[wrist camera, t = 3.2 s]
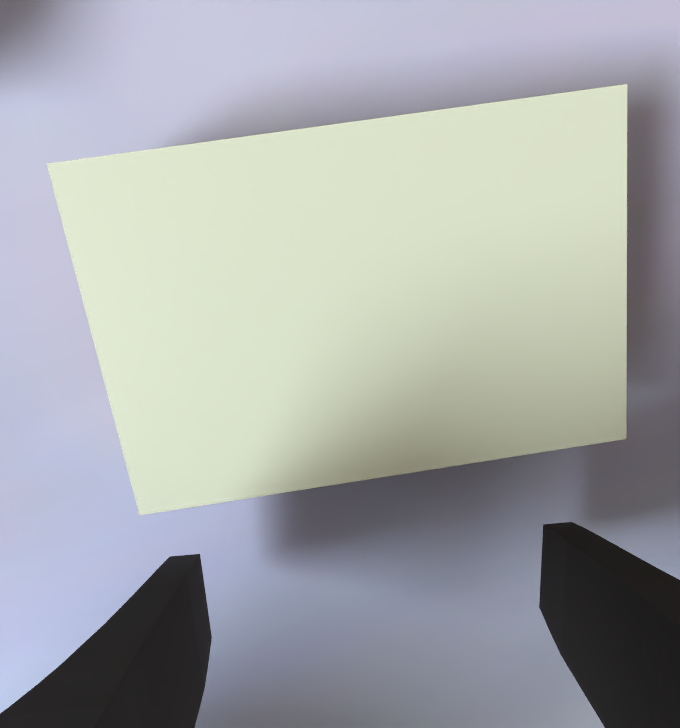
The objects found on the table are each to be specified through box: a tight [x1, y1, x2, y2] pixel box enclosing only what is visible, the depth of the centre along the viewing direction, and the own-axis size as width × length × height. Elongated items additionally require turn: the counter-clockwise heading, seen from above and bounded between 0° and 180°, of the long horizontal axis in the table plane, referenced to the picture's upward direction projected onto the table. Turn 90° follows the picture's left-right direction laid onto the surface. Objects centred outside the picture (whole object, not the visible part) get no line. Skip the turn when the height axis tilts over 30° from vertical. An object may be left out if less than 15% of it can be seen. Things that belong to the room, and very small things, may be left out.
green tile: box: [47, 84, 627, 515], centre depth 10 cm, size 6×9×3 cm, turn 98°
